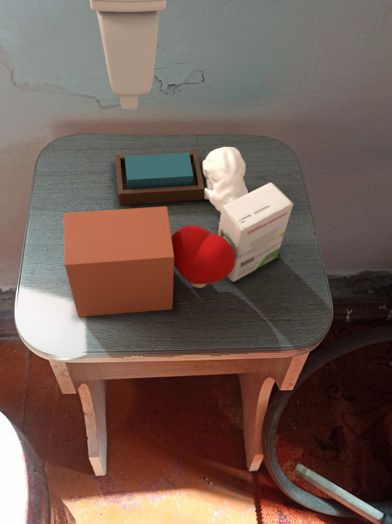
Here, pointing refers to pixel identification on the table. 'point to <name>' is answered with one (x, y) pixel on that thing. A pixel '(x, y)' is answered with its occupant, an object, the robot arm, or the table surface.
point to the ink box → (255, 228)
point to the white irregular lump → (224, 176)
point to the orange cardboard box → (119, 260)
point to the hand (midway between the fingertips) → (125, 75)
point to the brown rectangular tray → (159, 193)
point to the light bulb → (201, 255)
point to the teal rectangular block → (158, 170)
